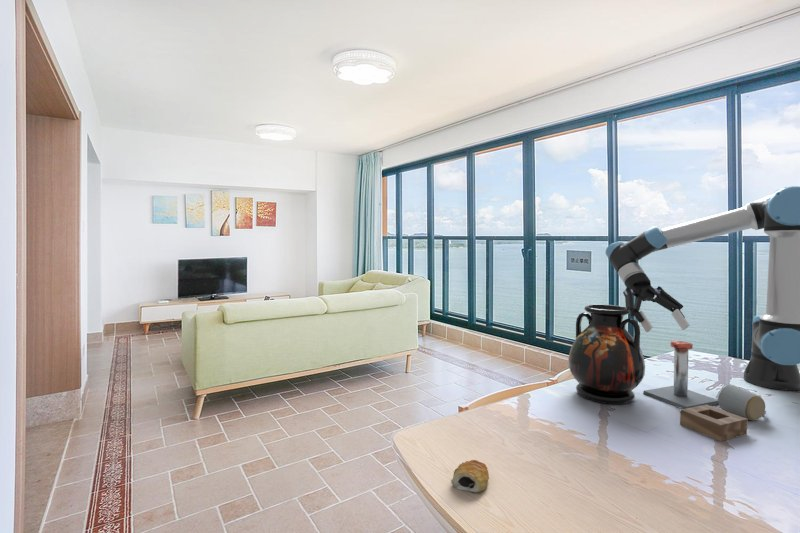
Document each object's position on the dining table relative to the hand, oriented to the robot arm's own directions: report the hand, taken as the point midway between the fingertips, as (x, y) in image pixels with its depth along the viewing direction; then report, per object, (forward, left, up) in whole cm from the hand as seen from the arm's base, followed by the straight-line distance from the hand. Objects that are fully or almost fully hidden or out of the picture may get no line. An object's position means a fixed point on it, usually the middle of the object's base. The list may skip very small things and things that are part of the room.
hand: (668, 328), depth 136 cm
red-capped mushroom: (+2, +6, -19) cm, 20 cm away
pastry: (+85, +23, -21) cm, 91 cm away
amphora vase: (+22, -4, -20) cm, 30 cm away
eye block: (+15, +24, -20) cm, 35 cm away
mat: (+2, +6, -20) cm, 21 cm away
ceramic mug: (-3, +21, -21) cm, 30 cm away
